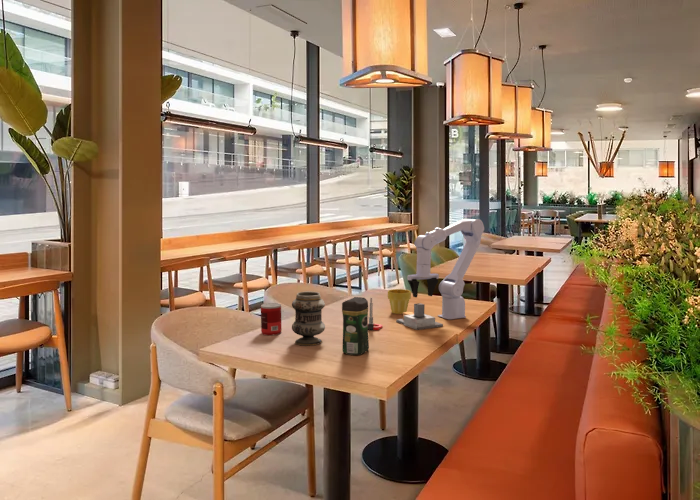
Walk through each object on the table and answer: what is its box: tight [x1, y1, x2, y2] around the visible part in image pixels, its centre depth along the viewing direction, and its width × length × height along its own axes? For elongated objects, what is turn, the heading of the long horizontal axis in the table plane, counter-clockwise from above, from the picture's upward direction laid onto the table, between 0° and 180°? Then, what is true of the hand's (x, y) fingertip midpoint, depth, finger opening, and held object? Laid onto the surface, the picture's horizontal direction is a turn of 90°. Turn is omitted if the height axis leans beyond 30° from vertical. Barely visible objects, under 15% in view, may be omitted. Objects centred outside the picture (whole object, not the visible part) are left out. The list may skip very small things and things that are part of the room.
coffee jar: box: [341, 296, 370, 356], centre depth 193 cm, size 10×8×19 cm
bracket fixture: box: [395, 311, 444, 331], centre depth 233 cm, size 12×16×4 cm
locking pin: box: [413, 302, 425, 318], centre depth 230 cm, size 3×3×8 cm
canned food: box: [260, 302, 283, 336], centre depth 220 cm, size 8×8×11 cm
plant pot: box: [387, 288, 412, 315], centre depth 256 cm, size 10×10×10 cm
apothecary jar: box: [291, 290, 326, 347], centre depth 206 cm, size 12×12×18 cm
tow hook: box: [368, 297, 383, 331], centre depth 228 cm, size 8×13×9 cm
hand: (422, 296), depth 238 cm, fingers open, 7 cm apart
